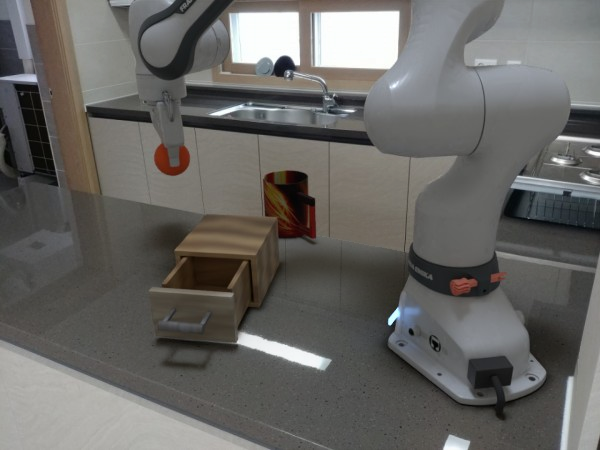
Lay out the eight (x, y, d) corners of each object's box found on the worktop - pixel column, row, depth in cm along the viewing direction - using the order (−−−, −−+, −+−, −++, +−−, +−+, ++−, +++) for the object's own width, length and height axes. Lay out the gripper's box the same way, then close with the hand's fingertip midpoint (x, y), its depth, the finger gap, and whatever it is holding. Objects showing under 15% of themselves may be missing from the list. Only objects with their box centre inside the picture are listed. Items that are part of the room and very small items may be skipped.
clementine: (150, 173, 108) (145, 138, 106) (182, 167, 112) (178, 133, 109) (163, 182, 102) (158, 146, 99) (197, 175, 105) (193, 140, 103)
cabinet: (259, 307, 89) (255, 255, 85) (181, 301, 91) (174, 250, 88) (279, 263, 103) (277, 217, 99) (211, 259, 106) (206, 213, 102)
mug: (314, 244, 111) (313, 190, 106) (257, 233, 117) (254, 181, 112) (333, 227, 118) (333, 175, 114) (279, 217, 124) (277, 168, 120)
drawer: (226, 363, 74) (221, 315, 71) (141, 355, 77) (133, 308, 73) (260, 292, 92) (257, 251, 89) (190, 287, 94) (185, 247, 91)
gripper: (187, 94, 92) (196, 171, 98) (171, 80, 110) (179, 146, 115) (150, 97, 90) (161, 176, 96) (140, 83, 108) (149, 150, 114)
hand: (171, 159), depth 106 cm, fingers closed on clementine, 8 cm apart
